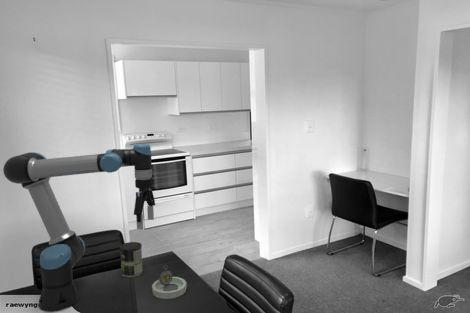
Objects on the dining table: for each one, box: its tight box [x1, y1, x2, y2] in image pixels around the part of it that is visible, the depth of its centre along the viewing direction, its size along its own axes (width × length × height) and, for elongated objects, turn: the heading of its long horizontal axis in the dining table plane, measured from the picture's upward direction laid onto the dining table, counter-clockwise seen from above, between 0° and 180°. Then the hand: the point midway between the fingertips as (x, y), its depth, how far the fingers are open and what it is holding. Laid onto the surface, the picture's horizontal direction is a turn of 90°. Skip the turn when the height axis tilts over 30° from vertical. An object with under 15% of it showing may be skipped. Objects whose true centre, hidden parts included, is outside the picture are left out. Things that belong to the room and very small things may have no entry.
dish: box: [151, 276, 188, 300], centre depth 165 cm, size 15×15×3 cm
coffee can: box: [119, 241, 144, 278], centre depth 183 cm, size 10×10×14 cm
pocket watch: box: [158, 265, 178, 291], centre depth 164 cm, size 8×8×10 cm
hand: (145, 224), depth 168 cm, fingers open, 13 cm apart
